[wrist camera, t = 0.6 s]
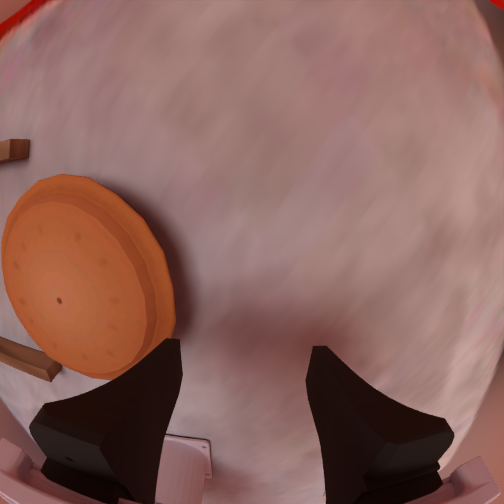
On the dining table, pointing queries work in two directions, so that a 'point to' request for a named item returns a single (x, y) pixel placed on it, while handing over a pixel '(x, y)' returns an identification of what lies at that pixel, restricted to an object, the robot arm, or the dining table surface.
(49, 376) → the serving rack
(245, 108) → the dining table surface
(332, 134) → the dining table surface
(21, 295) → the pie
